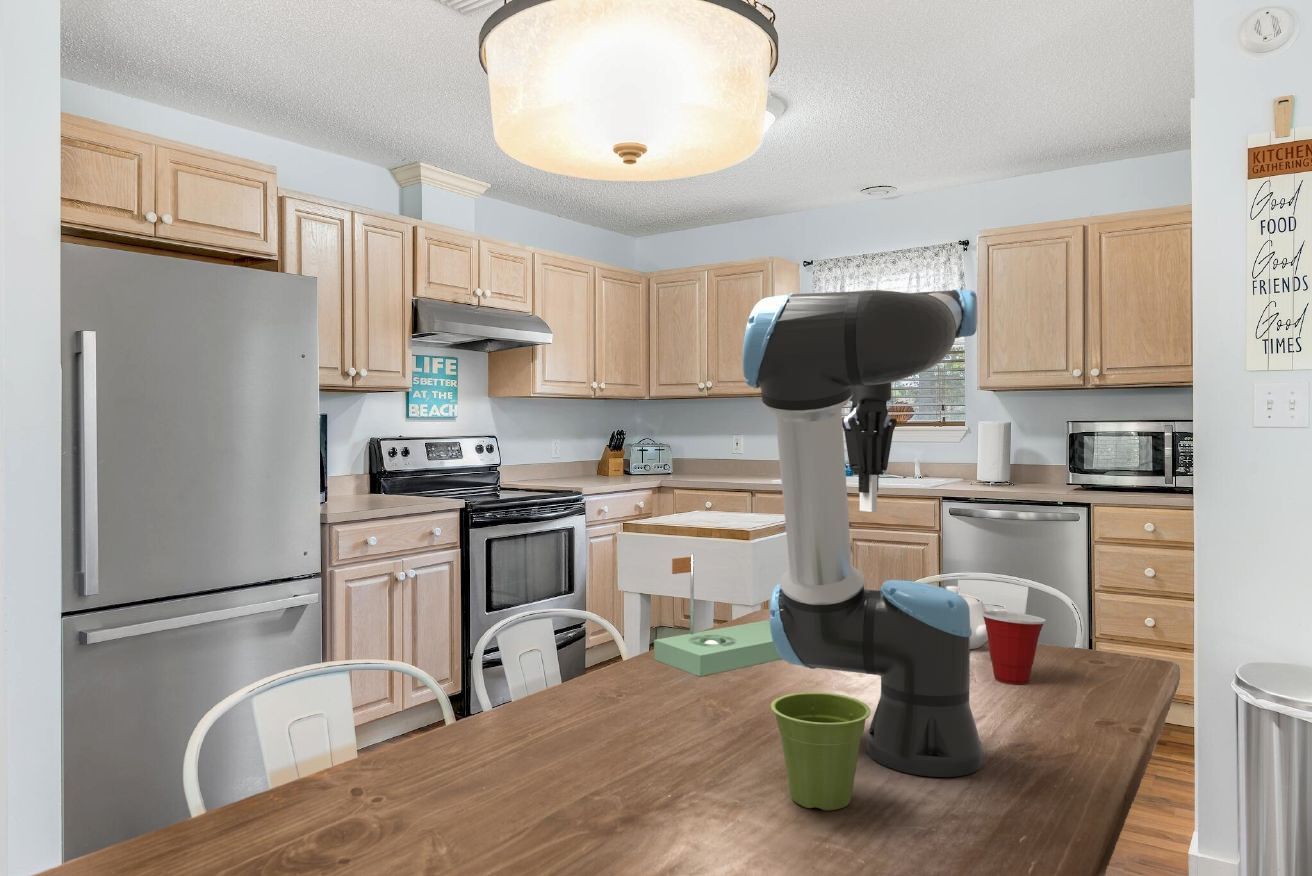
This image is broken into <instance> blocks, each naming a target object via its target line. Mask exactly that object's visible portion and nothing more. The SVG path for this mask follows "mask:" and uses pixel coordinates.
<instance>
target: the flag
mask: <svg viewBox="0 0 1312 876" xmlns="http://www.w3.org/2000/svg"><path fill="white" fill-rule="evenodd" d="M685 573H686V574H687V573H690V576H689V577H690V579H689V580H690V583H689V584H690V585H689V586H690V588H689V589H690V590H689V593H690V594H689V596H690V597H689V600H690V601H689V602H690V604H689V634H691V635H693V633H694V630H695V629H694V628H695V626H694V625H695V622H694V619H695V618H694V617H695V614H694V612H695V611H694V609H695V608H694V607H695V606H694V605H695V599H694V598H695V554H694V553H690V556H687V557H686V556H685V557H676V558H672V559H671V574H672V575H678V574H685Z"/></svg>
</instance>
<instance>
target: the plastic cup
mask: <svg viewBox="0 0 1312 876" xmlns="http://www.w3.org/2000/svg"><path fill="white" fill-rule="evenodd" d="M982 616H983V618H984V620H985V625H986V631H987V635H988V641H987V642H988V649H989V655H990V660H991V664H992V672H993V676H994V679H995V680H996V681H998V682H1000V683H1004V684H1008V685H1017V686H1018V685H1026V684H1029V682H1030V679H1031V675H1032V670H1033V669H1032V668H1033V665H1034V662H1035V657H1036V652H1037V648H1038V641H1039V637H1040V634H1041V632H1042V628H1043V626H1044V624H1045V623H1046V622H1047V620H1046V619H1045V618H1043V617H1040V616H1036V615H1032V614H1026V613H1019V612H1013V611H1006V612H1005V611H994V610H987V611H982Z"/></svg>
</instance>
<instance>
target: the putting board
mask: <svg viewBox="0 0 1312 876" xmlns="http://www.w3.org/2000/svg"><path fill="white" fill-rule="evenodd" d="M708 640H714V641H716V642H718V643H719V644H706V643H705V642H706V641H708ZM653 660H654V661H657V662H660V663H662V664H666V665H667V666H670V667H673V668H676V669H679V670H681V671H684V672H687V673H689V674H692V675H695V676H698V677H703V676H708V675H714V674H718V673H723V672H727V671H732V670H737V669H742V668H746V667H751V666H755V665H760V664H765V663H770V662H773V661H779V660H783V659H782V658H781V657H780V656H779V654H778V653H777V651H776V649H775V646H774V643H773V640H772V636H771V630H770V619H767V620H762V621H756V622H751V623H742V624H738V625H732V626H727V627H721V628H716V629H715V628H714V629H710V630H703V631H698V632H693V635H691V634H690V633H687V634H681V635H674V636H670V637H663V638H658V639H654V640H653Z"/></svg>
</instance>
